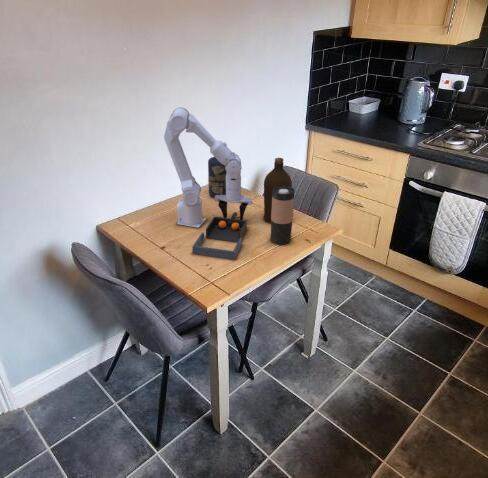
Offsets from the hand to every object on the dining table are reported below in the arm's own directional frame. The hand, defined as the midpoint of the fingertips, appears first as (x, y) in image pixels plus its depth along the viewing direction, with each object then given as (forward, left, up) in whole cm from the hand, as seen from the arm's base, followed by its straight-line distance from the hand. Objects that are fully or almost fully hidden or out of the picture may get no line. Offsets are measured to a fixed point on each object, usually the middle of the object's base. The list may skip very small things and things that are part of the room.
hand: (233, 219), depth 170 cm
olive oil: (+15, +8, -2) cm, 17 cm away
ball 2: (+3, -6, 0) cm, 7 cm away
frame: (+2, -21, -1) cm, 21 cm away
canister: (-15, +22, -2) cm, 27 cm away
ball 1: (-2, -7, 0) cm, 7 cm away
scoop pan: (+1, -6, -1) cm, 6 cm away
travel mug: (+21, -8, -2) cm, 22 cm away
